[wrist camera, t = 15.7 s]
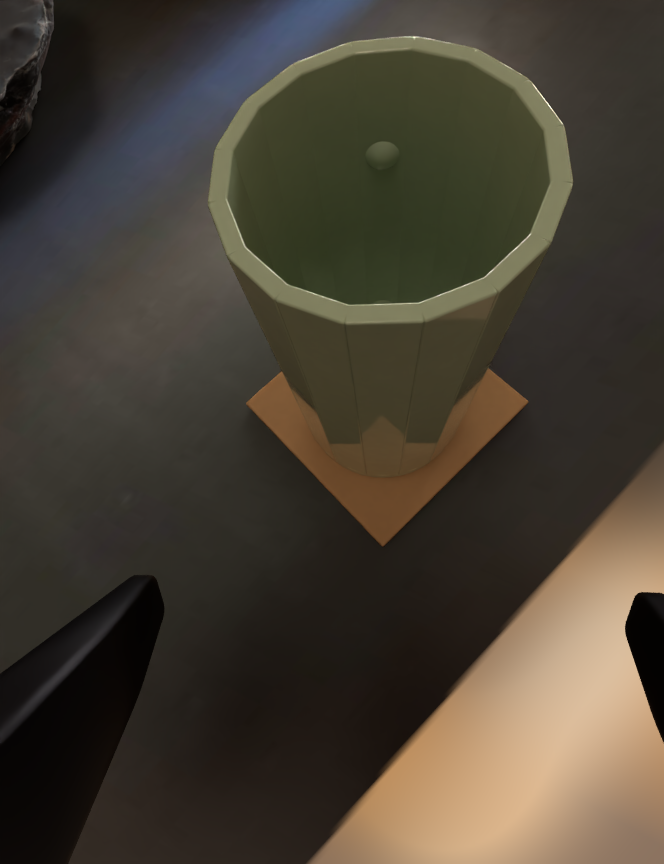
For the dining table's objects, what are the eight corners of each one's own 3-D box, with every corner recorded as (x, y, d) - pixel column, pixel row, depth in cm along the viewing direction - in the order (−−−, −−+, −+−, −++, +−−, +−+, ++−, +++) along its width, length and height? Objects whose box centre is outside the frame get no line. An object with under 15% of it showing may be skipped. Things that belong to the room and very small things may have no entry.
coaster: (526, 404, 21) (529, 401, 21) (382, 547, 20) (382, 546, 20) (382, 285, 24) (382, 280, 23) (247, 406, 22) (245, 403, 22)
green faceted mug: (463, 478, 20) (594, 317, 8) (304, 477, 21) (190, 328, 8) (452, 277, 23) (535, -76, 11) (313, 282, 24) (237, -44, 11)
